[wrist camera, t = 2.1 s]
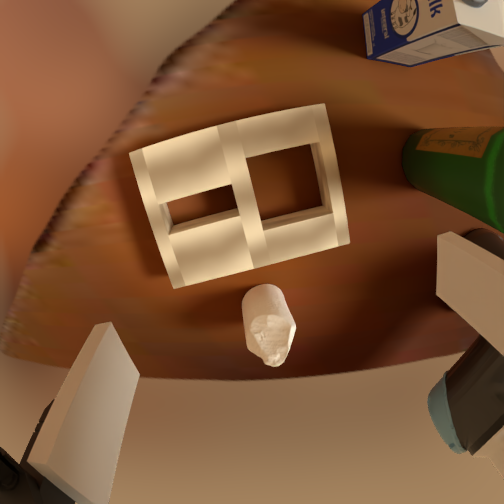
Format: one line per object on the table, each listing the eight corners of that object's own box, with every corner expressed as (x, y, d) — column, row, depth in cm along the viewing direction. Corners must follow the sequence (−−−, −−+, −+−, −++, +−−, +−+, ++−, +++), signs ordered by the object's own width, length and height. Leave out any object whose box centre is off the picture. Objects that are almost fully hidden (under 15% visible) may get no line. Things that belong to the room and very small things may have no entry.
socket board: (338, 233, 39) (350, 243, 35) (178, 274, 39) (173, 288, 35) (314, 106, 33) (324, 103, 30) (138, 151, 33) (128, 153, 30)
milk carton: (410, 68, 32) (523, 45, 13) (366, 60, 31) (473, 18, 13) (405, 23, 29) (505, -20, 11) (361, 13, 29) (453, -50, 10)
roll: (285, 327, 29) (316, 359, 31) (268, 275, 40) (293, 303, 42) (236, 361, 30) (270, 388, 32) (232, 302, 41) (258, 328, 43)
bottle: (458, 140, 36) (625, 177, 10) (439, 207, 39) (597, 290, 13) (404, 108, 34) (597, 113, 8) (383, 183, 37) (569, 266, 11)
